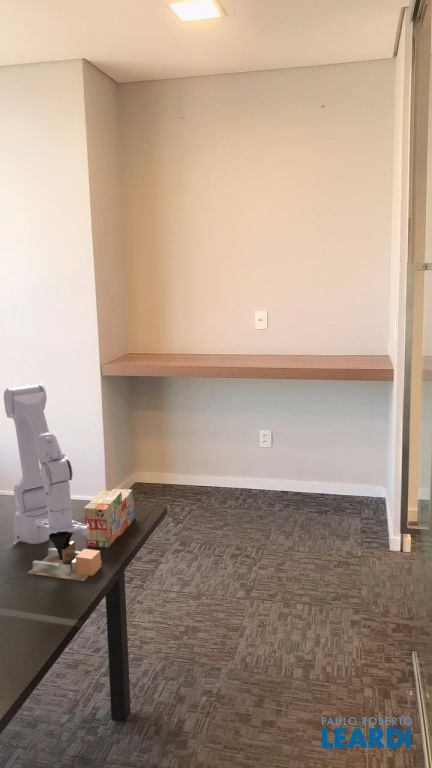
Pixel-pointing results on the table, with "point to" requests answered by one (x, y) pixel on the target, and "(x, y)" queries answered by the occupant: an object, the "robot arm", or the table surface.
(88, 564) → the terracotta block
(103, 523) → the stack of blocks
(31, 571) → the channel deck
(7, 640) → the table surface
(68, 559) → the sliding carriage
